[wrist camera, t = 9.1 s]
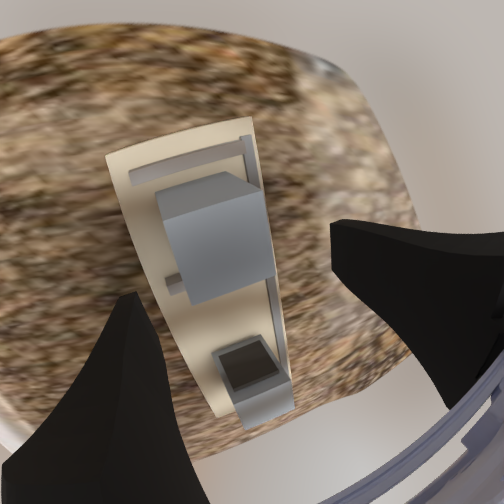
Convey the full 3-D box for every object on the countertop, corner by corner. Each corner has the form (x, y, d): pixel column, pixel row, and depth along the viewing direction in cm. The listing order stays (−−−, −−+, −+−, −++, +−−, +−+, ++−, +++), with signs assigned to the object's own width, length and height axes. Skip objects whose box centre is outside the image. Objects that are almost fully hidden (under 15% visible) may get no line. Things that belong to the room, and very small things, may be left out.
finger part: (240, 241, 18) (277, 282, 13) (177, 263, 17) (194, 313, 12) (225, 170, 15) (262, 190, 11) (154, 192, 14) (162, 221, 10)
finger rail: (287, 378, 27) (317, 423, 22) (213, 408, 25) (234, 460, 20) (243, 116, 16) (297, 115, 10) (107, 153, 14) (89, 169, 8)
